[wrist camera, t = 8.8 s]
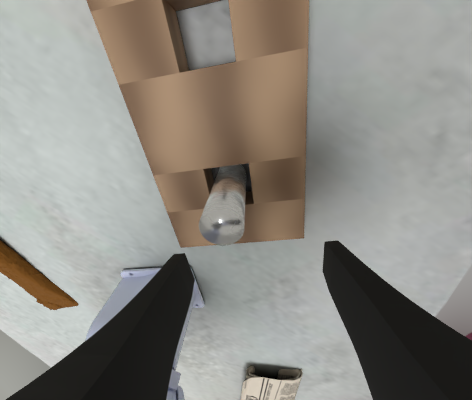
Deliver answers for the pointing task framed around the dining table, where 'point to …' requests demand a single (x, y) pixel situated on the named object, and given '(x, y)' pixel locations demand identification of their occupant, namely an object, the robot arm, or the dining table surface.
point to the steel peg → (225, 207)
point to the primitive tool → (32, 280)
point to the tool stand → (217, 108)
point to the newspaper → (271, 385)
